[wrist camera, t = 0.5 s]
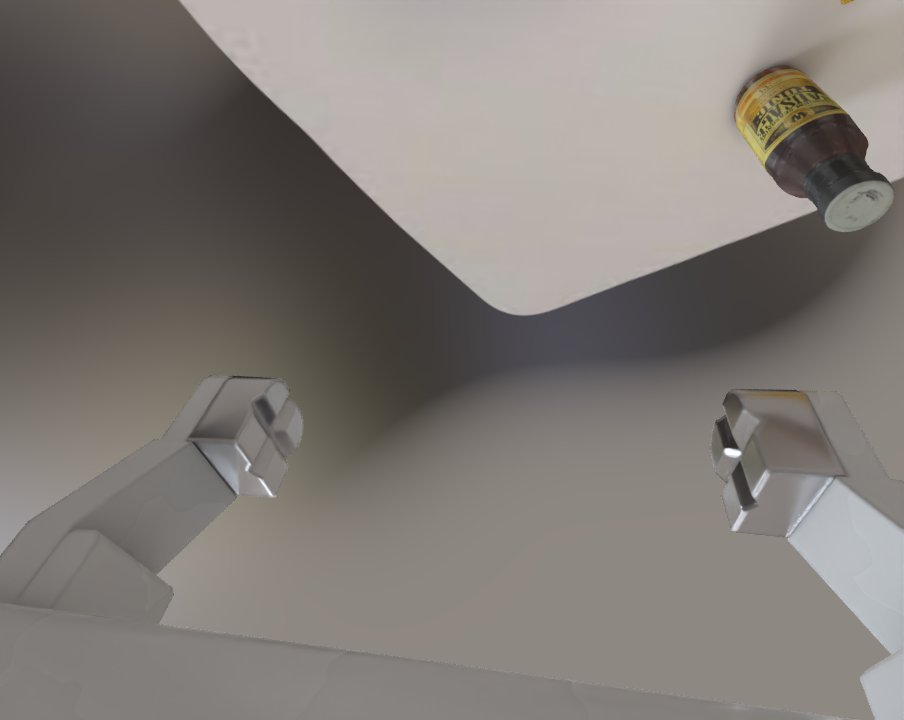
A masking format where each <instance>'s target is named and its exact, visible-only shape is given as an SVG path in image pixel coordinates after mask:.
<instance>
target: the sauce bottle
mask: <svg viewBox="0 0 904 720" xmlns="http://www.w3.org/2000/svg"><path fill="white" fill-rule="evenodd" d="M734 118H735V122H736V125H737V127H738V130H739V131H740V133H741V134H742V135H743V137H744V138H745V140H746V141H747V143H748V144H749V146H750V147H751V149H752V150H753V151H754V153H755V154H756V156H757V157H758V159H759V160H760V162H761V163H762V165H763V166H764V168H765V169H766V171H767V172H768V174H769V175H770V176H772V177H773V179H774V180H775V182H776V183H777V185H778V186H779V187H780V188H781V189H782V190H783V191H785V192H786V193H788V194H790V195H793V196H795V197H799V198H808V199H809V200H810V201H812V202H813V203H814V205H815V206H816V207H817V209H818V210H817V211H818V214H819V217H820V218H821V220H822V221H823V222H824V223H825V224H826V225H827V226H828V227H829V228H830V229H832V230H835V231H839V232H849V231H855V230H859V229H861V228H863V227H865V226H868V225H870V224H872V223H874V222H875V221H877V220H878V219H879V218H881V217H882V216H883V215H884V214H885V213H886V211H887V209H888V208H889V207H890V206H891V204H892V202H893V199H894V189H893V187H892V186H891V184H890V183H889V181H888V180H887V179H886V178H885V176H883V175H882V174H880V173H877V172H874V171H873V170H872V169H870V167H869V166H868V165H867V163H866V161H865V156H866V151H867V148H868V140H867V138H866V137H865V135H864V134H863V133H862V132H861V130H860V129H859V128H858V127H857V125H856V124H855V123H854V121H853V120H852V119H851V117H850V115H848V114H847V113H846V112H845V111H844V110H843V109H842V108H841V107H840V106H839V105H838V104H837V103H836V102H835V101H834V100H833V99H831V98H830V97H829V96H828V95H827V94H826V93H825V92H824V91H823V90H822V89H821V88H819V87H818V86H817V85H816V84H815V83H814V82H813V81H812V80H811V79H810V78H809V77H808V76H807V75H805V74H804V73H802V72H800V71H798V70H795V69H792V68H790V67H788V66H782V67H776V68H771V69H768V70H765V71H763V72H762V73H759V74H757V75H756V76H755V77H754V78H753V79H752V80H751V81H750V82H749V83H748V84H747V85H746V86H745V87H744V88H743V90H742V91H741V92H740V94H739V95H738V97H737V100H736V104H735V112H734Z"/></svg>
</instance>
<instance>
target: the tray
mask: <svg viewBox="0 0 904 720" xmlns="http://www.w3.org/2000/svg"><path fill="white" fill-rule="evenodd" d="M851 1H854V0H842V4H843V5H844V4H846V3H849V2H851Z"/></svg>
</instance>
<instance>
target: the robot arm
mask: <svg viewBox="0 0 904 720" xmlns="http://www.w3.org/2000/svg"><path fill="white" fill-rule="evenodd" d="M289 392H290V390H289V388H288V386H287V384H286V383H285V381H284V379H278V378H263V377H244V376H243V377H242V376H217V375H216V376H215V375H210V376H209V377H207V378H205V379H203V380H202V381H201V383H200V384H199V386H198V387H197V388H196V390H195V391H194V393H193V394H192V396H191V397H190V398H189V400H188V401H187V403H186V404H185V405H184V407H183V408H182V410H181V411H180V413H179V414H178V416H177V417H176V418H175V420H174V421H173V423H172V424H171V425H170V427H169V428H168V430H167V431H166V433H165V434H164V435H163V437H162V438H161V440H152V441H151V442H149V443H147V444H146V445H144V446H143V447H141V448H140V449H138V450H137V451H135V452H134V453H132V454H131V455H129V456H127V457H126V458H124V459H123V460H121V461H120V462H118V463H117V464H115V465H114V466H112V467H111V468H109V469H107V470H106V471H104V472H103V473H102V474H100V475H98V476H97V477H95V478H94V479H92V480H91V481H89V482H87V483H86V484H84V485H83V486H81V487H80V488H78V489H77V490H75V491H74V492H72V493H71V494H69V495H68V496H66V497H64V498H63V499H62V500H60V501H58V502H57V503H56V504H54V505H52V506H51V507H49V508H48V509H46V510H45V511H43V512H42V513H40V514H39V515H37V516H35V517H34V518H32V519H31V520H29V521H28V522H27V523H26V524H25V526H24V527H23V528H22V529H21V531H20V532H19V533H18V534H17V535H16V537H15V538H14V539H13V540H12V542H11V543H10V544H9V545H8V547H7V548H6V549H5V550H4V551H3V553H2V554H1V555H0V720H859V719H851V718H845V717H837V716H830V715H822V714H815V713H807V712H800V711H793V710H786V709H778V708H771V707H764V706H757V705H749V704H741V703H735V702H726V701H719V700H713V699H705V698H698V697H691V696H683V695H676V694H668V693H661V692H654V691H647V690H639V689H632V688H625V687H617V686H610V685H602V684H595V683H587V682H581V681H573V680H565V679H559V678H551V677H544V676H537V675H529V674H522V673H514V672H507V671H500V670H492V669H485V668H478V667H471V666H463V665H456V664H448V663H441V662H434V661H427V660H419V659H412V658H405V657H397V656H389V655H383V654H375V653H368V652H361V651H353V650H346V649H339V648H331V647H323V646H317V645H309V644H301V643H295V642H287V641H280V640H272V639H265V638H258V637H250V636H243V635H236V634H229V633H222V632H214V631H207V630H200V629H192V628H185V627H178V626H169V625H163V624H159V622H160V621H161V619H162V617H163V615H164V613H165V611H166V609H167V607H168V604H169V603H170V601H171V599H172V597H173V595H174V593H173V589H172V587H171V586H170V585H168V584H167V583H166V582H165V581H163V580H162V579H161V578H159V577H158V576H157V575H156V574H158V573H159V572H160V571H161V570H162V569H163V568H164V567H165V566H166V565H167V564H168V563H169V562H170V561H171V560H172V559H173V558H174V557H175V556H176V555H177V554H179V553H180V552H181V551H182V549H184V548H185V547H186V546H187V545H188V544H189V543H190V542H191V541H192V540H193V539H194V538H195V537H196V536H197V535H198V534H199V533H200V532H201V531H202V530H204V529H205V528H206V527H207V526H208V525H209V524H210V523H211V522H212V521H213V520H214V519H215V518H216V517H217V516H218V515H219V514H220V513H221V512H223V511H224V510H225V509H226V508H227V507H228V505H230V504H231V503H232V502H233V501H234V500H235V499H236V498H237V496H236V495H239V496H260V497H276V495H277V493H278V490H279V488H280V486H281V484H282V482H283V479H284V477H285V475H286V473H287V470H288V465H287V462H286V458H287V457H288V456H289V455H291V454H292V453H293V452H295V451H296V450H297V448H298V445H299V443H300V441H301V439H302V433H303V425H304V423H303V417H302V413H301V411H300V409H299V407H298V405H297V404H295V403H294V402H292V401H291V400H290V399H288V398H287V396H288V394H289ZM723 407H724V410H725V413H726V415H725V416H723V417H721V418H720V419H718V420H716V422H715V425H714V428H713V431H712V434H711V456H712V462H713V466H714V470H715V473H716V474H717V475H718V476H719V477H720V478H721V479H722V480H724V481H725V482H726V483H727V485H726V487H725V489H724V492H723V494H722V500H723V503H724V507H725V510H726V514H727V518H728V521H729V525H730V528H731V532H737V533H747V534H757V535H767V536H777V537H787V538H789V539H788V541H789V542H790V543H791V544H792V545H793V547H794V548H795V549H796V550H797V551H798V552H799V553H800V554H801V555H802V556H803V557H804V559H805V560H806V561H807V562H808V563H809V564H810V565H811V566H812V568H813V569H814V570H815V571H816V572H817V573H818V574H819V575H820V576H821V577H822V578H823V580H824V581H825V582H826V583H827V584H828V585H829V586H830V587H831V588H832V589H833V591H834V592H835V593H836V594H837V595H838V596H839V597H840V598H841V599H842V601H844V603H845V604H846V605H847V606H848V607H849V608H850V609H851V610H852V612H853V613H854V614H855V615H856V616H857V617H858V618H859V619H860V620H861V622H863V624H864V625H865V626H866V627H867V628H868V629H869V630H870V632H871V633H872V634H873V635H874V636H875V637H876V638H877V639H878V640H879V641H880V643H881V644H882V645H883V646H884V647H885V648H886V649H887V650H888V651H889V652H890V654H891V656H889V657H887V658H886V659H884V660H882V661H881V662H879V663H877V664H876V665H874V666H872V667H871V668H869V669H867V670H866V671H865V672H864V674H863V675H862V676H861V677H860V680H861V683H862V685H863V688H864V691H865V693H866V696H867V699H868V701H869V704H870V707H871V709H872V712H873V715H874V718H875V720H904V481H902V480H893V479H890V478H889V477H888V475H887V473H886V471H885V469H884V468H883V466H882V464H881V462H880V461H879V459H878V457H877V455H876V454H875V452H874V450H873V448H872V447H871V445H870V443H869V441H868V440H867V438H866V436H865V434H864V433H863V431H862V429H861V427H860V425H859V424H858V422H857V421H856V418H855V417H854V415H853V413H852V412H851V410H850V408H849V406H848V405H847V403H846V401H845V399H844V397H843V396H842V395H840V394H839V393H837V391H804V390H800V391H797V390H759V389H753V390H752V389H732V390H731V391H730V392H728V393H727V395H726V397H725V399H724V402H723Z"/></svg>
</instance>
